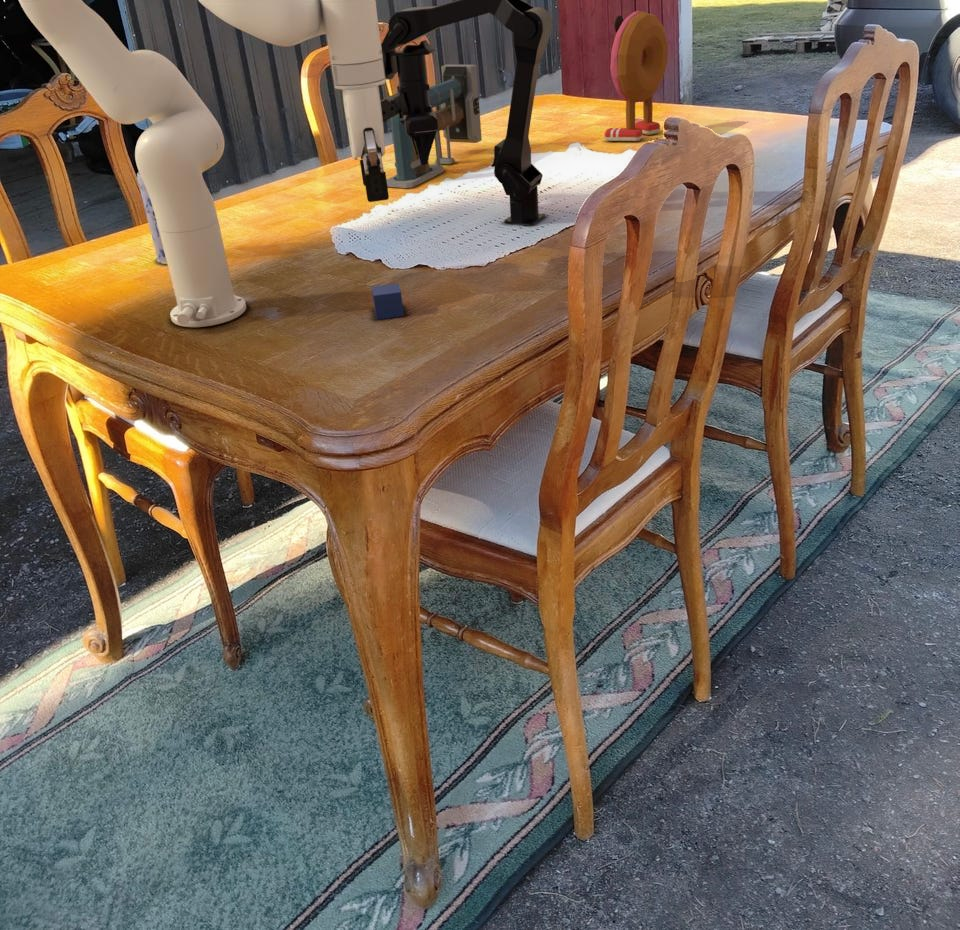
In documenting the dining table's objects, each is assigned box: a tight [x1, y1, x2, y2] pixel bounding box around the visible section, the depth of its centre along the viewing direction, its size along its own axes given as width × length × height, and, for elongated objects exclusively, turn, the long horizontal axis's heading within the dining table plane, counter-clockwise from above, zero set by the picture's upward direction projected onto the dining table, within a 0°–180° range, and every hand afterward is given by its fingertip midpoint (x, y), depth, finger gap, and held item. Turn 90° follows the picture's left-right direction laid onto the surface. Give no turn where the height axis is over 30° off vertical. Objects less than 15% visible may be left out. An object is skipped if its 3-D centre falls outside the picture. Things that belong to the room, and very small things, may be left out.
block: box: [371, 282, 405, 321], centre depth 158 cm, size 4×4×4 cm
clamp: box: [386, 64, 483, 189], centre depth 235 cm, size 35×9×21 cm, turn 151°
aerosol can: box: [136, 171, 168, 265], centre depth 188 cm, size 8×8×20 cm
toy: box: [604, 10, 669, 142], centre depth 247 cm, size 21×10×30 cm, turn 141°
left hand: (376, 192), depth 149 cm, fingers open, 9 cm apart
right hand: (421, 159), depth 199 cm, fingers open, 9 cm apart
